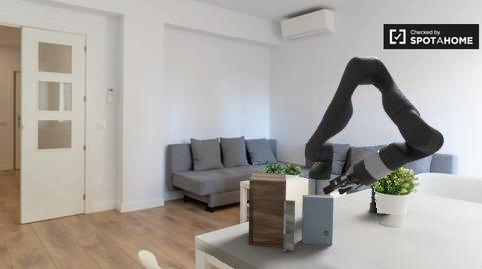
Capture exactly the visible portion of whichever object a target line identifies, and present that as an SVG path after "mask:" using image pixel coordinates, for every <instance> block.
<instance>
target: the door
mask: <svg viewBox="0 0 482 269" xmlns="http://www.w3.org/2000/svg"><path fill="white" fill-rule="evenodd" d="M334 202H335V201H334V197H333V195H330V196H321V195H308V194H302V204H301V206H302V208H301V209H302V210H301V214H302V215H301V216H302V217H301V243H302V244H308V245H309V244H311V245H329V246H330V245H331V246H332V245H333V237H334V236H333V231H334V230H333V228H334Z"/></svg>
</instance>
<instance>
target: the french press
mask: <svg viewBox="0 0 482 269" xmlns="http://www.w3.org/2000/svg"><path fill="white" fill-rule="evenodd" d="M369 186H370V189H371V196H370V198H371V202H369V209H368V212H370V213H373V214H376V213H377V208H376V202H377V200H376V199H375V196H376V191H375V192H374V188H373V186H372V185H369Z"/></svg>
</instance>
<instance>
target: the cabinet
mask: <svg viewBox="0 0 482 269" xmlns="http://www.w3.org/2000/svg"><path fill="white" fill-rule="evenodd" d="M248 181H249V184H248V185H249V188H248V190H249V192H248V193H249V195H248V199H249V200H248V246H254V247H256V246H257V247H270V248H271V247H273V248H274V247H275V248H276V247H277V248H282V251H283V252H286V251H294V248H295V223H296V222H295V221H296V218H295V217H296V200H293V199H292V200H288V199H287V198H286V197H287V178H286V173H268V172H266V173H265V172H252V173H251V175H250V178H249V180H248Z"/></svg>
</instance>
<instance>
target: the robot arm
mask: <svg viewBox="0 0 482 269" xmlns="http://www.w3.org/2000/svg"><path fill="white" fill-rule="evenodd" d="M369 85H370V86H371V85H373V86H374V87H375V88H376V89H377V90H378V91H379V92H380V94H381V106H382V109H383V111H384V112H385V114H386V116H387V117H388V118H389V119H390V120H391V122H392V123H393V124H394V126H396V127H397V129H398V131H399V134H400V135H401V137H402V138H403V140H404V141H402V142H401V141H394V142H392V143H389V144H388V145H386V146H384V147H383V148H380V149H379V150H377V151H375V152H373V153H371V154H369V155H368V156H366V157H364V158H363V159H361V160H360V161H358V162H356V163H354V164H353V166H352V170H353V171H352V172H348V173H347V172H346V173H345V172H343V173H341V174H339V175H337V176H336V177H334V178H332V173H333V165H334V154H335V153H334V152H335V151H334V146H333V143H332V141H330V140H331V138H333V137H335V136H336V135H339V133H341V132H342V131H343V130H344V129H346V127H347V126H348V124H349V122H350V120H351V119H352V117H353V115H354V106H353V101H352V97H353V94H354V92H355V91H356V89H357V88H358V87H359V86H369ZM444 143H445V138H444V135H443V134H442V133H441V131H439V130H438V129H436V128H434V127H432V126H431V125H429V124H428V123H427V122H426V121H425V120H424V119H423V118H422V117H421V114H420V111H419V110H418V108H416V107H415V105H414V104H412V102H411V101H410V100H409V99H408V98H407V96H405V94H404V93H403V91H401V89H400V88H399V86H398V85H397V83H396V81H395V80H394V77H393V76H392V75H391V73H390V71H389V70H388V68H387V67H386V65H385V63H384V62H383V61H382V60H381V58H379V57H376V56H353V57H352V58H351V59H350V60H349V61H348V62H347V64H346V66H345V68H344V70H343V73H342V76H341V78H340V81H339V84H338V86H337V89H336V91H335V93H334V94H333V97H332V99H331V101H330V103H329V105H328V106H327V107H326V110H325V112H324V115H323V117H322V118H321V120H320V123H319V124H318V126H317V127H316V129H315V130H314V132H313V134H312V135H311V137H310V138H309V139H308V141H307V143H306V145H305V147H304V157H305V159H306V161H307V162H310V163H318V165H317V166H316V167H315V168H312V169H310V170H309V171H308V184H307V185H308V186H307V188H308V189H307V195H321V196H331V193H333V192H335V191H338V194H339V195H341V196H343V195H344V194H345V193H347V192H349V191H354V190H358V189H359V188H361V187H363V186H366V187H369V186H370V185H371V184H376V183H377V182H378V181H380V179H382V178H384V177H386V176H387V175H391V174H392V173H394V172H395V171H397V170H399V169H400V168H402V167H404V166H405V165H407V164H409V163H413V162H417V161H420V160H422V159H425V158H428V157H430V156H432V155H435V154H436V153H437V152H439V151H440V150H441V149H442V147H443V146H444Z"/></svg>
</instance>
